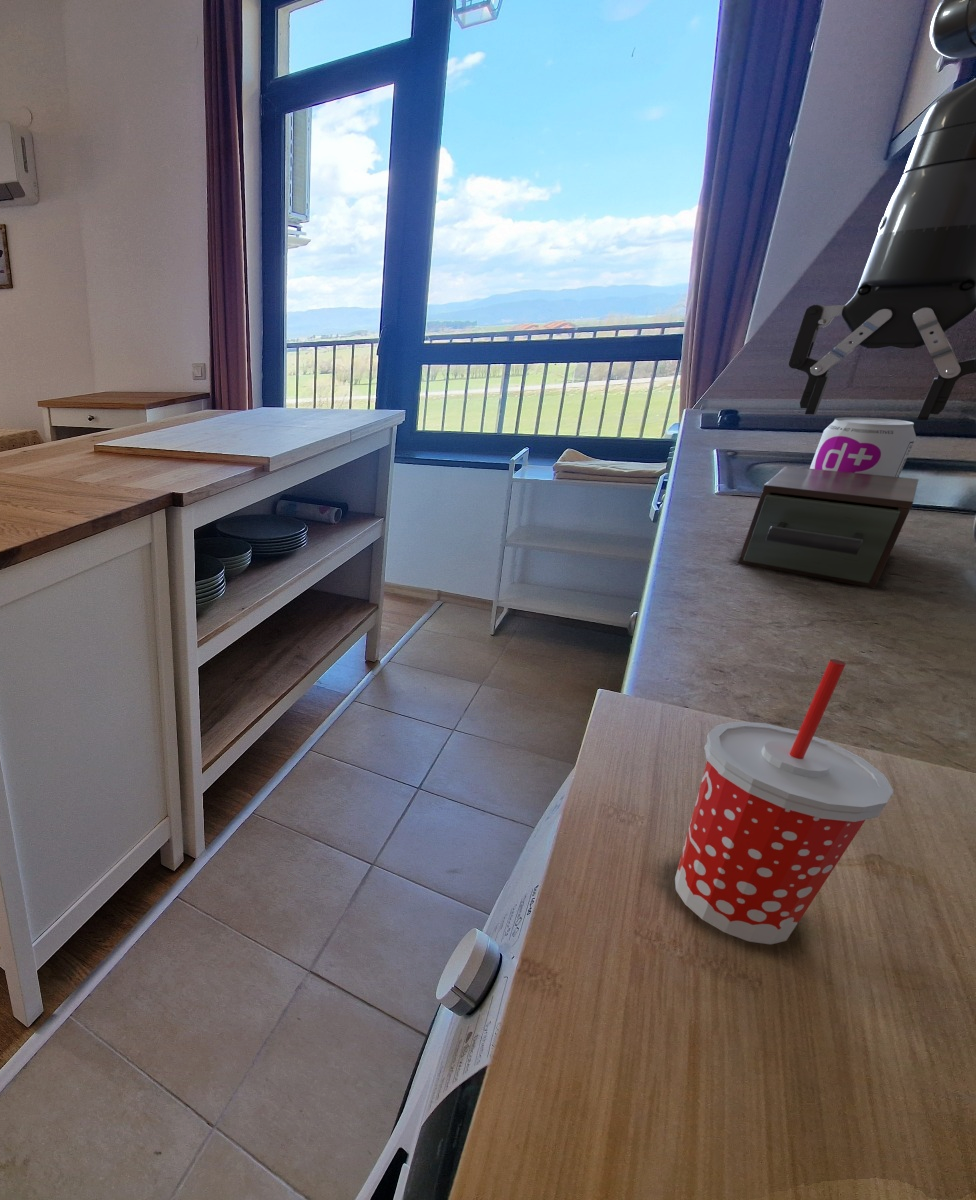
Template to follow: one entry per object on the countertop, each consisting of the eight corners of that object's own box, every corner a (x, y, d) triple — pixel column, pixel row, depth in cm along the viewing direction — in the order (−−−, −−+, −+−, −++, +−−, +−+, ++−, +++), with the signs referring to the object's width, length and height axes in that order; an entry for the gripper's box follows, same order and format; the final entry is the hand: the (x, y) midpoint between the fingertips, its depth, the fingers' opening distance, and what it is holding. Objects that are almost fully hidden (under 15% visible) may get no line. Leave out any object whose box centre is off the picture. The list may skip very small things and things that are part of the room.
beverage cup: (702, 844, 35) (790, 620, 30) (841, 931, 30) (980, 679, 25) (629, 879, 33) (710, 646, 28) (766, 979, 28) (900, 716, 22)
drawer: (864, 598, 63) (896, 524, 60) (732, 572, 70) (755, 505, 67) (878, 554, 75) (906, 489, 72) (764, 536, 82) (785, 477, 79)
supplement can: (843, 547, 80) (893, 427, 74) (771, 529, 87) (811, 419, 81) (887, 540, 82) (939, 423, 76) (813, 524, 89) (855, 415, 83)
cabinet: (874, 588, 68) (913, 501, 64) (737, 563, 76) (764, 484, 72) (884, 556, 76) (918, 478, 73) (760, 537, 84) (785, 466, 81)
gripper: (1066, 219, 53) (973, 418, 60) (832, 239, 63) (774, 408, 70) (1076, 210, 49) (975, 427, 55) (822, 233, 59) (762, 415, 65)
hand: (863, 416), depth 62 cm, fingers open, 7 cm apart
